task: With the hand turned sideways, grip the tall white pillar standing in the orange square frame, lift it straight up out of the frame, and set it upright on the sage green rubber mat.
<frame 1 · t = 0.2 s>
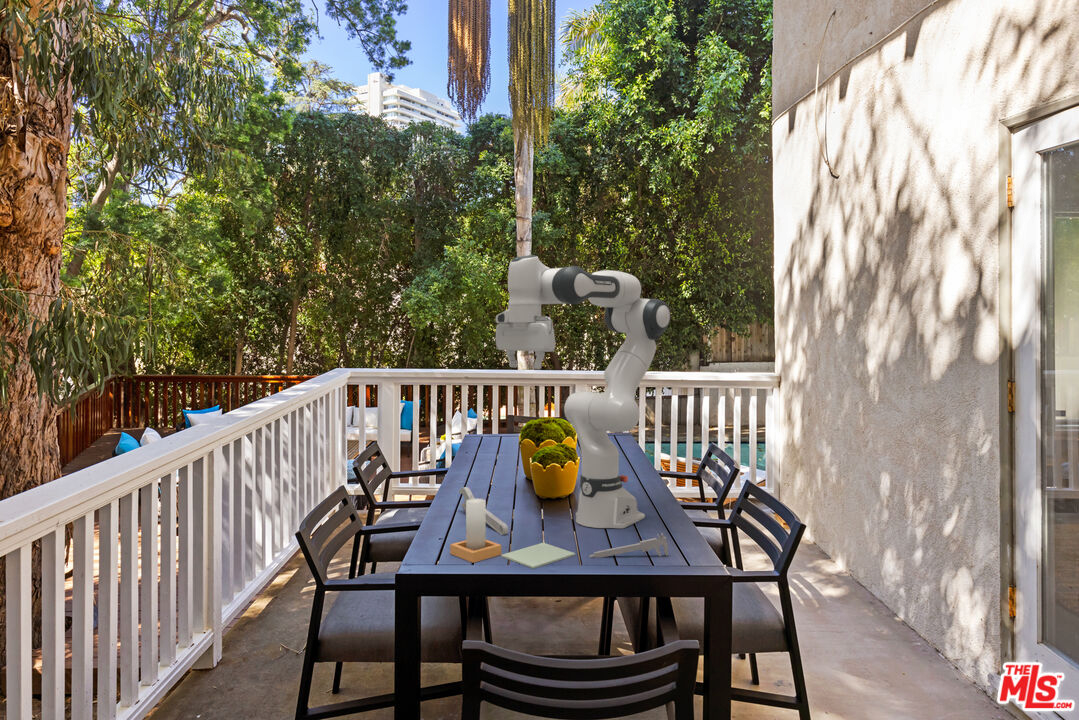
hand: (525, 368, 194), 48 cm above the table, tool pointing down, fingers open, 8 cm apart
wrench: (482, 523, 217), on the table
tall white pillar: (475, 527, 188), in the orange square frame
orange square frame: (475, 554, 188), on the table
caliper: (628, 558, 187), on the table
mat: (538, 555, 187), on the table
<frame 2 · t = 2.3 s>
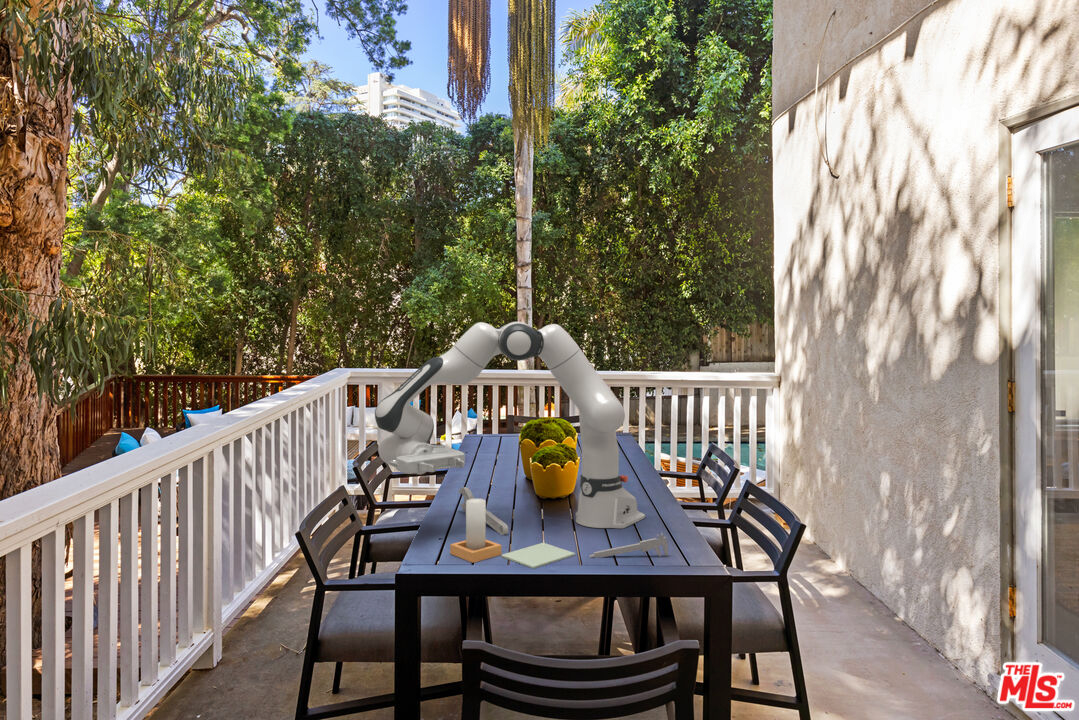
hand: (448, 466, 195), 21 cm above the table, tool horizontal, fingers open, 8 cm apart
nothing on the table moved.
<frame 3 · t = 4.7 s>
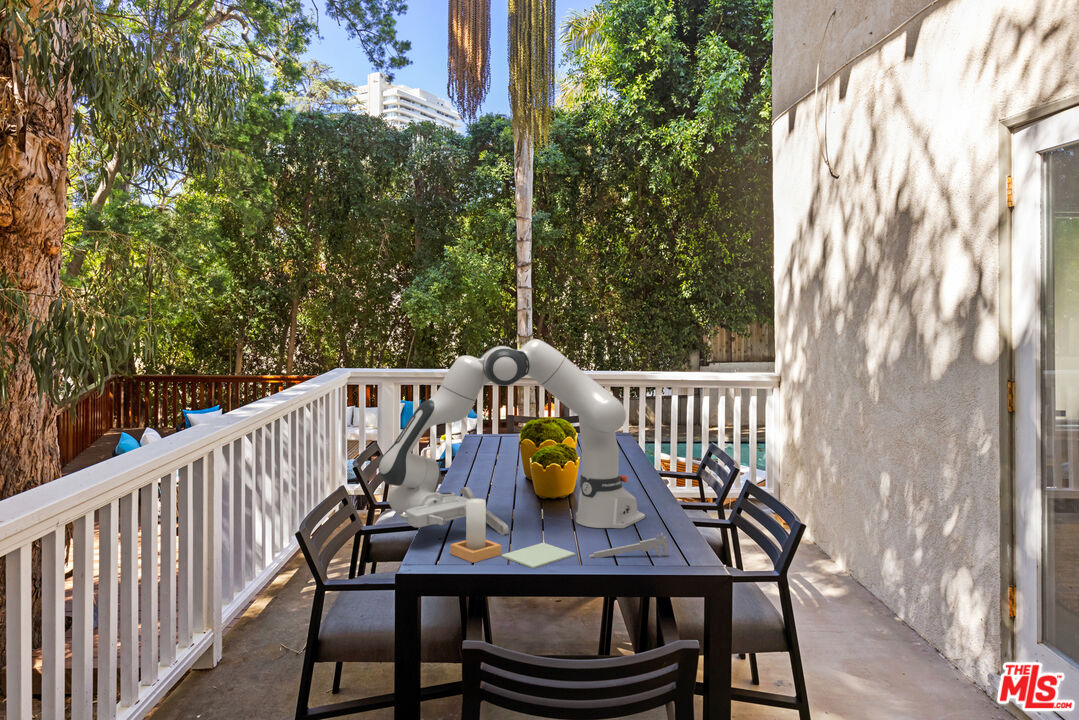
hand: (458, 518, 193), 8 cm above the table, tool horizontal, fingers open, 8 cm apart
nothing on the table moved.
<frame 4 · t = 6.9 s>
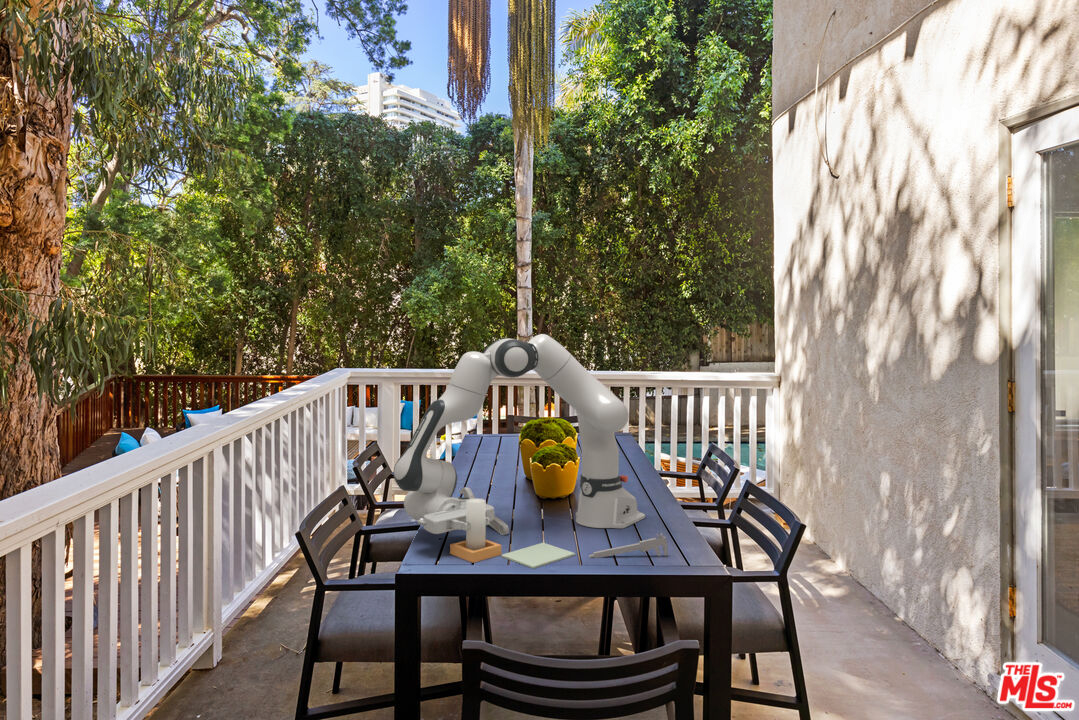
hand: (478, 524, 187), 8 cm above the table, tool horizontal, fingers closed on tall white pillar, 5 cm apart
tall white pillar: (475, 527, 188), in the orange square frame, touching gripper
everything else where it was.
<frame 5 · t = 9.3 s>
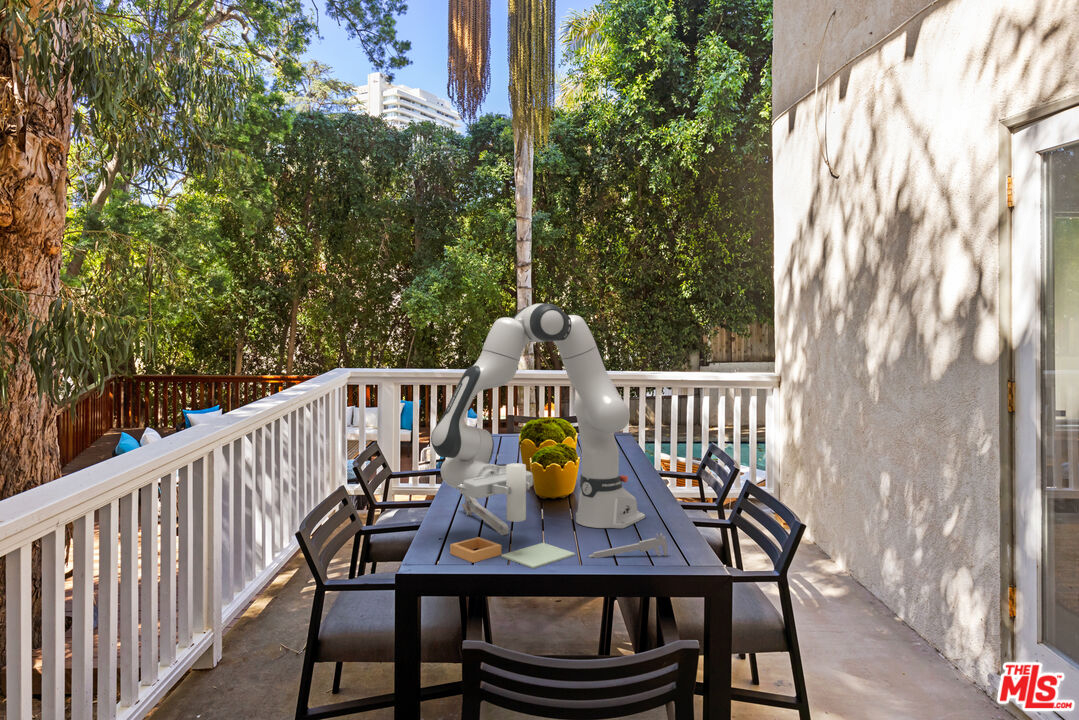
hand: (518, 488, 186), 18 cm above the table, tool horizontal, fingers closed on tall white pillar, 5 cm apart
tall white pillar: (516, 492, 186), point 16 cm above the table, touching gripper
everything else where it was.
when the fingers open (10 cm above the table, at t = 12.2 s): tall white pillar drops 1 cm, resting on mat.
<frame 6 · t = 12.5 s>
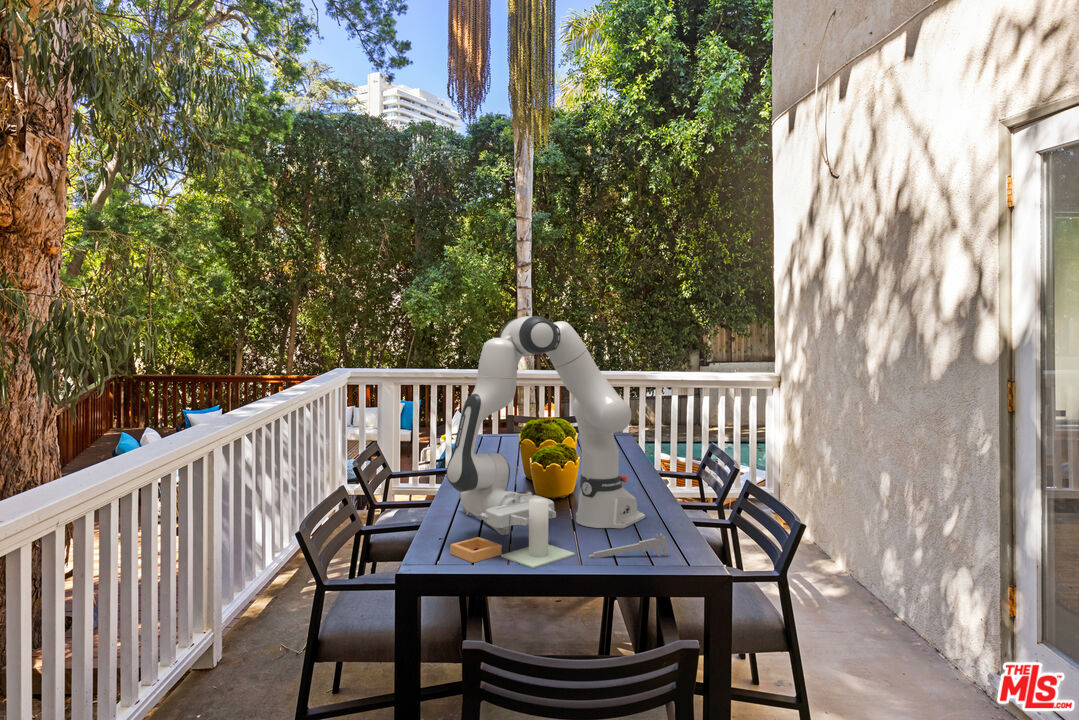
hand: (541, 518, 186), 10 cm above the table, tool horizontal, fingers open, 8 cm apart
tall white pillar: (538, 527, 187), on the mat
everything else where it was.
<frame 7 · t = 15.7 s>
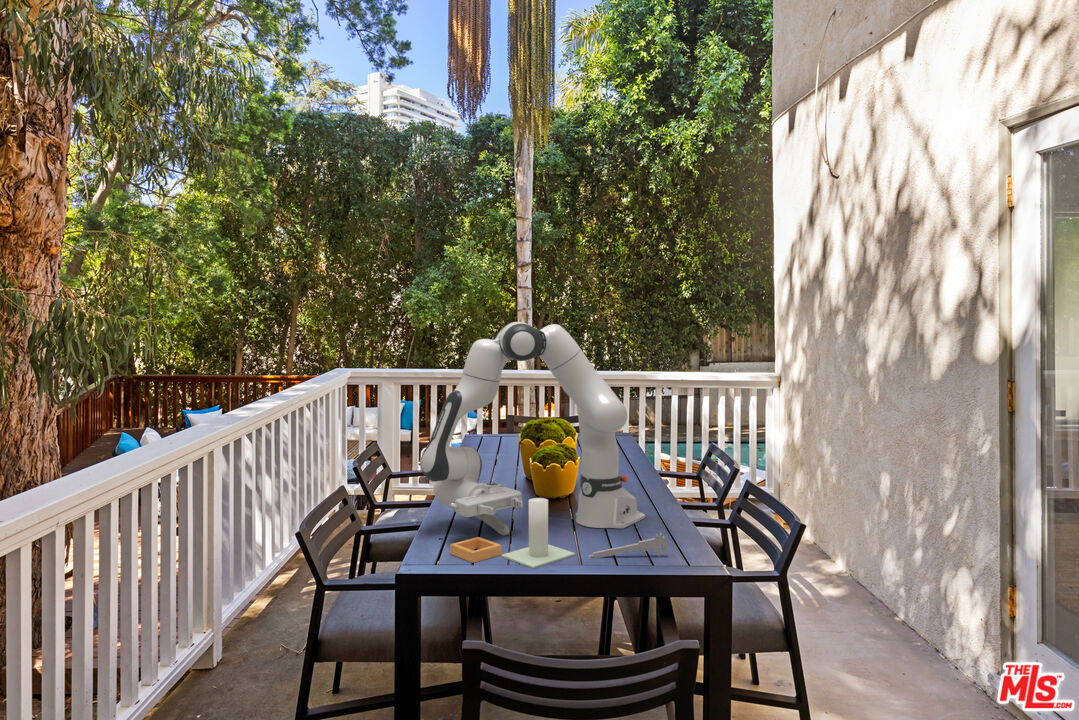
hand: (507, 508, 195), 10 cm above the table, tool horizontal, fingers open, 8 cm apart
nothing on the table moved.
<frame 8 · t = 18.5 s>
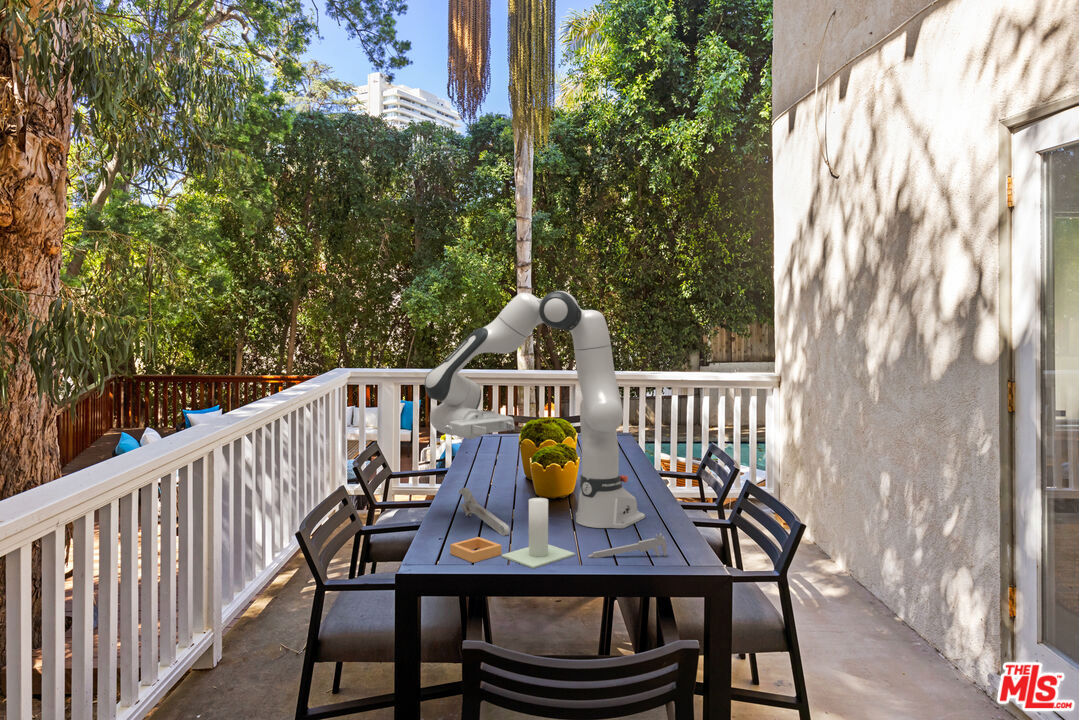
hand: (500, 429, 204), 30 cm above the table, tool horizontal, fingers open, 8 cm apart
nothing on the table moved.
at the end: tall white pillar inside the target area (0.0 cm from its centre), point 7.6 cm above the table; tall white pillar tilted 1°; tall white pillar touching mat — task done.
